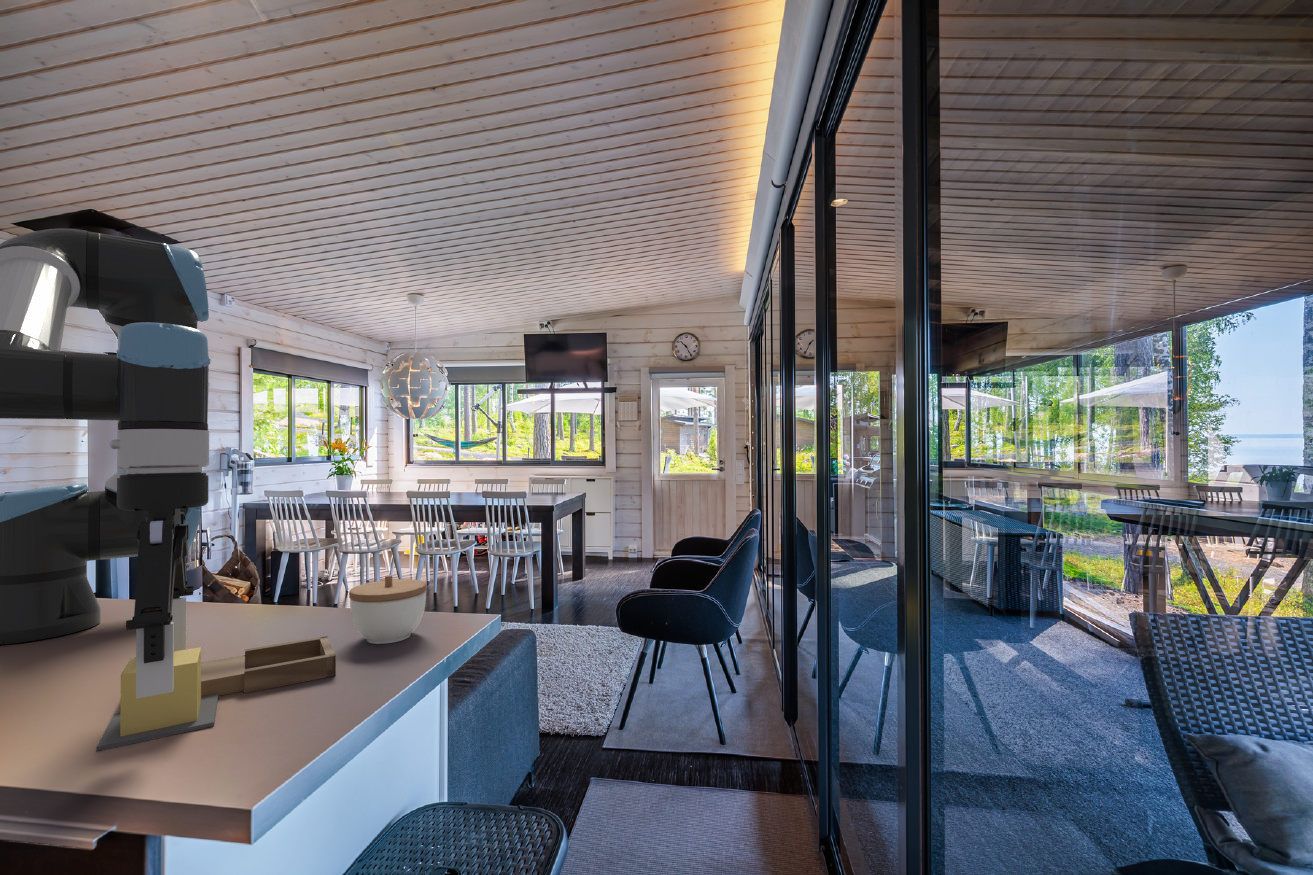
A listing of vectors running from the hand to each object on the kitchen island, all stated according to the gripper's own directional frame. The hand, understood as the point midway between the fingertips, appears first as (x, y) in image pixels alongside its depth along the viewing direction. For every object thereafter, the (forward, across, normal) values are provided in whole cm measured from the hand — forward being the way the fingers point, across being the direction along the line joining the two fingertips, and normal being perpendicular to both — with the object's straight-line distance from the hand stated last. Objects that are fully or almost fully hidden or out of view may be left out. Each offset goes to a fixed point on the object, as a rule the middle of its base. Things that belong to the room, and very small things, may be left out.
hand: (163, 674), depth 63 cm
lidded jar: (+5, -17, +25) cm, 31 cm away
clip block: (+2, 0, 0) cm, 2 cm away
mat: (+5, 0, 0) cm, 5 cm away
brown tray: (+5, -9, +7) cm, 13 cm away
